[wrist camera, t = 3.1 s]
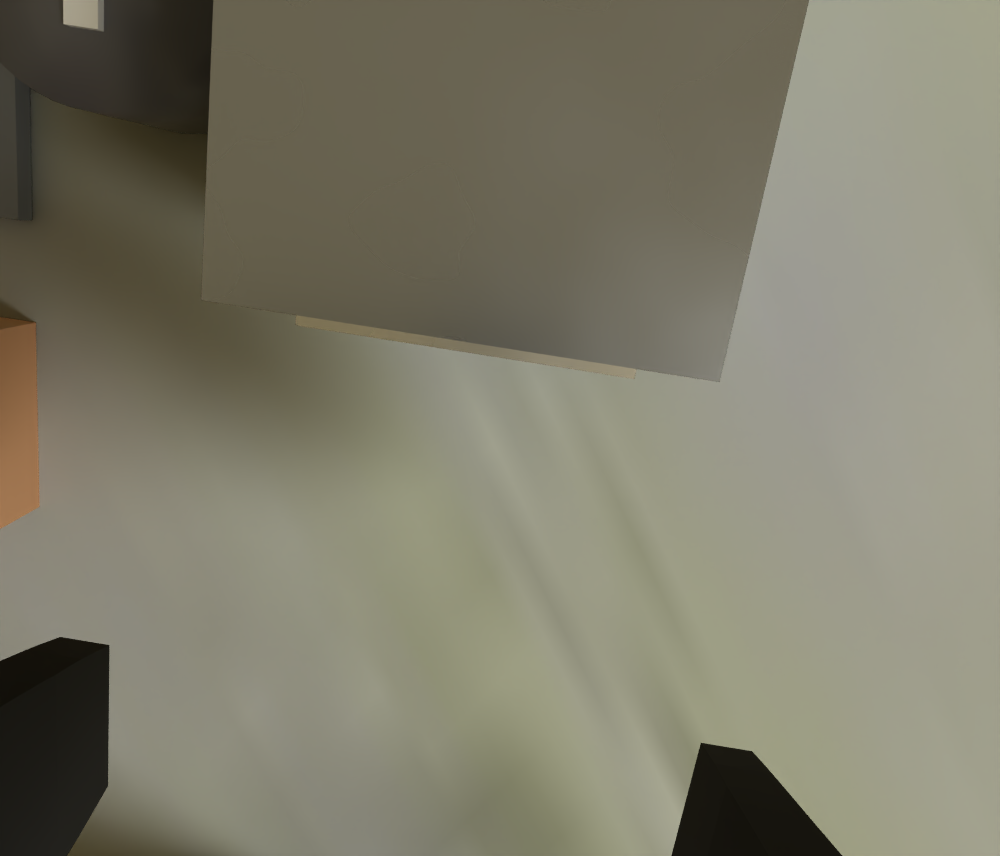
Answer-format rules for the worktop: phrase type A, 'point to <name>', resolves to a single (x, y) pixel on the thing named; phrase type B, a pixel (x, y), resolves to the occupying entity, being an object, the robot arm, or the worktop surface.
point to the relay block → (18, 420)
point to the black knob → (115, 57)
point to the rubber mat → (15, 148)
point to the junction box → (497, 171)
